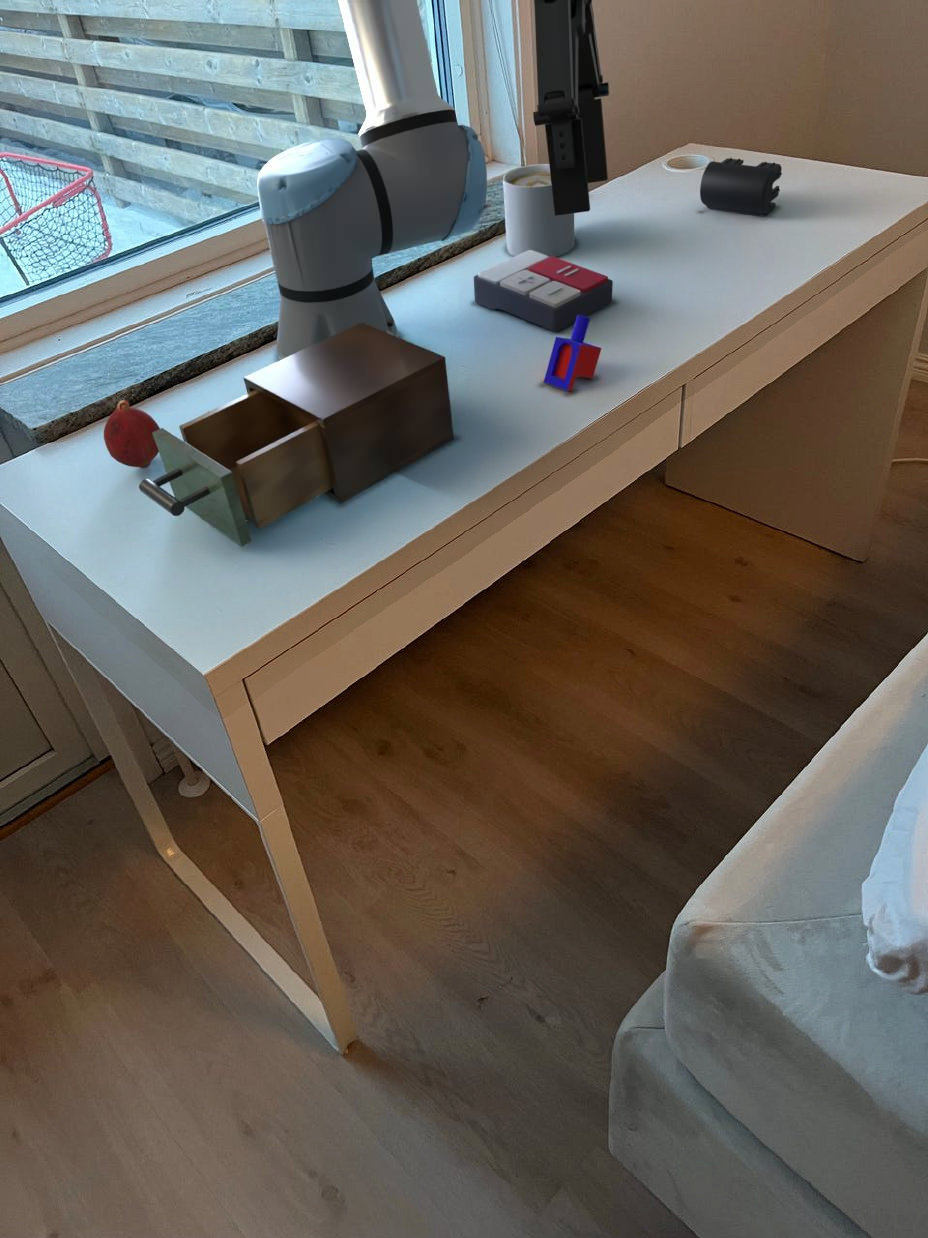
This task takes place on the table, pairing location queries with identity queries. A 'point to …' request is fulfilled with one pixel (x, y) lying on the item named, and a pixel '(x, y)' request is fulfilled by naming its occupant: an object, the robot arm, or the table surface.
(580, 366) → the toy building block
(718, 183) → the end cap
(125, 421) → the onion
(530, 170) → the coffee mug
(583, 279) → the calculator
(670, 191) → the table surface
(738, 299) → the table surface
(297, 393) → the cabinet
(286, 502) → the drawer
